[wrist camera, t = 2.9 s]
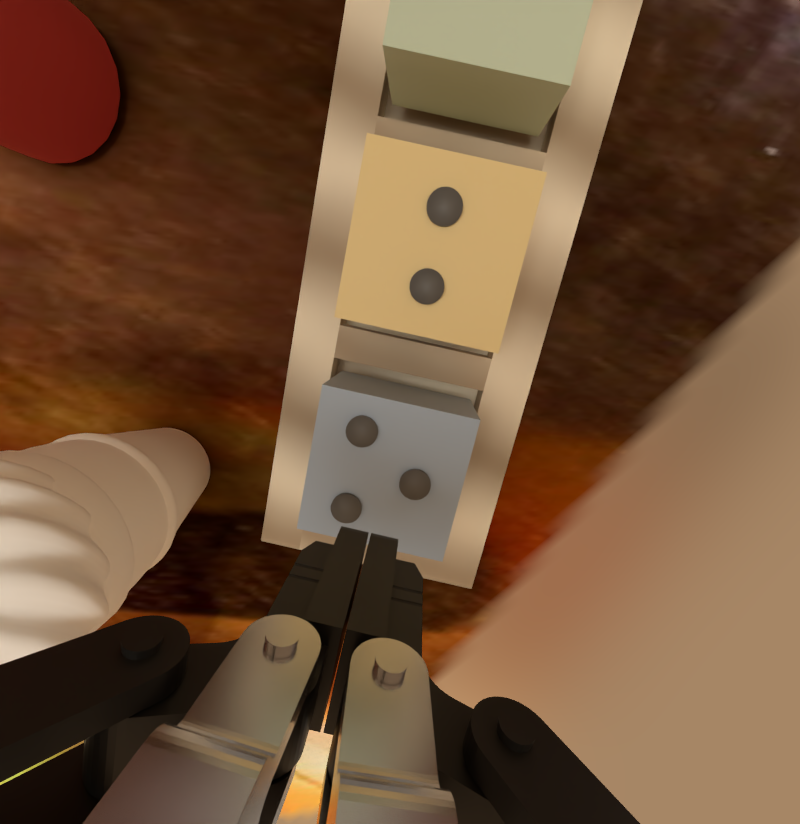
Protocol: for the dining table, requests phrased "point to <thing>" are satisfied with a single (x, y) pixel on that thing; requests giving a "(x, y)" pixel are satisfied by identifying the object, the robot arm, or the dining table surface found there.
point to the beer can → (54, 81)
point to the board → (419, 356)
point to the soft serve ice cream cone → (87, 528)
